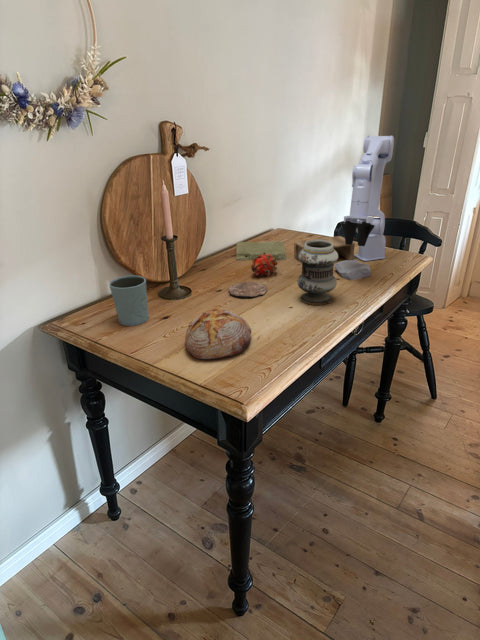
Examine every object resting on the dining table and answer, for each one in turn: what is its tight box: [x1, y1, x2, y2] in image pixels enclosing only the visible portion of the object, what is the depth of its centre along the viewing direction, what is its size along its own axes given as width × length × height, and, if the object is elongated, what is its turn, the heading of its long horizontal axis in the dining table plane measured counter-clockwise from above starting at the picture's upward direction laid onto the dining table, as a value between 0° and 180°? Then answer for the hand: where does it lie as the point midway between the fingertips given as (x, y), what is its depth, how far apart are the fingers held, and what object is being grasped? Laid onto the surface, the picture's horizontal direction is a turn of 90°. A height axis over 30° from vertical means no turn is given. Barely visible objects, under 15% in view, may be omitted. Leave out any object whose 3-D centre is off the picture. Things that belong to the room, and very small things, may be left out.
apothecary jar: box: [296, 239, 339, 306], centre depth 144 cm, size 12×12×18 cm
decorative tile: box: [235, 241, 287, 261], centre depth 191 cm, size 19×20×4 cm
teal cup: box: [108, 275, 149, 327], centre depth 136 cm, size 10×10×12 cm
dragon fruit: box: [250, 253, 278, 277], centre depth 168 cm, size 8×8×12 cm
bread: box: [184, 309, 252, 360], centre depth 121 cm, size 16×20×10 cm
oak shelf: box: [293, 235, 356, 264], centre depth 182 cm, size 20×12×6 cm, turn 109°
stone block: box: [334, 259, 372, 281], centre depth 167 cm, size 12×5×10 cm
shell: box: [228, 281, 268, 299], centre depth 154 cm, size 12×13×4 cm
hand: (354, 245), depth 155 cm, fingers open, 7 cm apart
